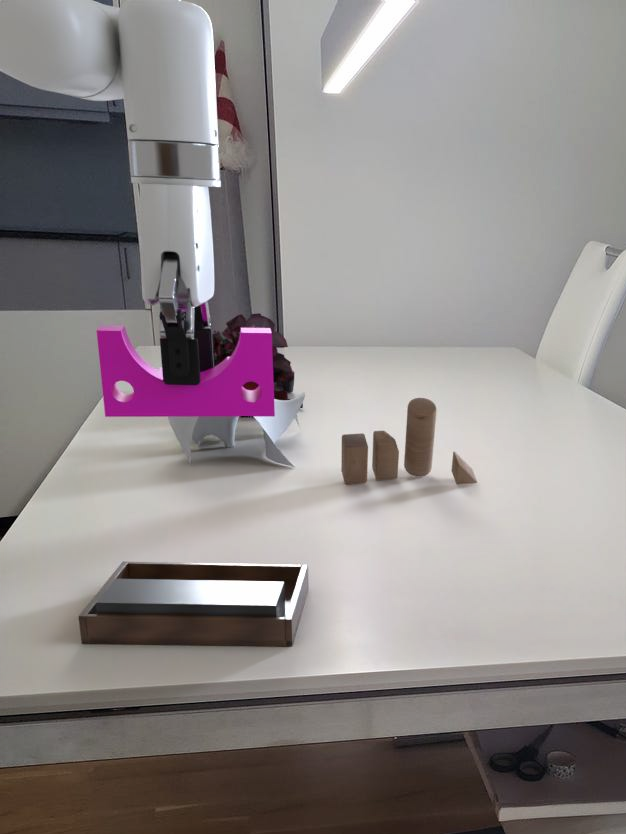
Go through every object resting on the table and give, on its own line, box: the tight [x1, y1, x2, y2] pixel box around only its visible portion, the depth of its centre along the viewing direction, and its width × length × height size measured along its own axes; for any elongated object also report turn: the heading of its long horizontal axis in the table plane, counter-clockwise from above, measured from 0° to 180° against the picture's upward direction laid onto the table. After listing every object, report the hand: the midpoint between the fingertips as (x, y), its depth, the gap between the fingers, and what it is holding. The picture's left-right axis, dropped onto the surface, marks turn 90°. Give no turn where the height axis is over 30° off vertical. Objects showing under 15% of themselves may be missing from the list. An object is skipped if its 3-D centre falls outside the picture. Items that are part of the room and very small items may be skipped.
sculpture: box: [167, 392, 306, 468], centre depth 154 cm, size 25×19×10 cm
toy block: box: [96, 324, 275, 418], centre depth 96 cm, size 15×6×8 cm, turn 102°
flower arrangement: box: [212, 312, 304, 418], centre depth 187 cm, size 31×20×15 cm, turn 13°
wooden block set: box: [340, 397, 478, 485], centre depth 140 cm, size 18×9×10 cm, turn 105°
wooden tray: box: [77, 561, 310, 647], centre depth 94 cm, size 18×14×4 cm
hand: (189, 376), depth 96 cm, fingers closed on toy block, 6 cm apart
